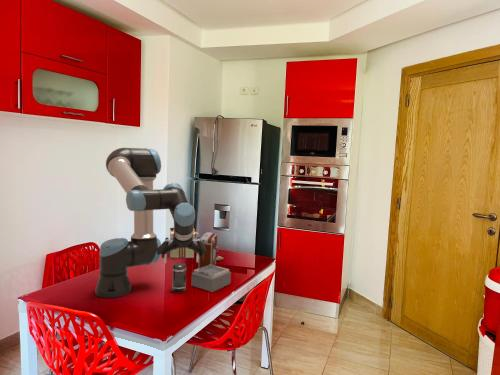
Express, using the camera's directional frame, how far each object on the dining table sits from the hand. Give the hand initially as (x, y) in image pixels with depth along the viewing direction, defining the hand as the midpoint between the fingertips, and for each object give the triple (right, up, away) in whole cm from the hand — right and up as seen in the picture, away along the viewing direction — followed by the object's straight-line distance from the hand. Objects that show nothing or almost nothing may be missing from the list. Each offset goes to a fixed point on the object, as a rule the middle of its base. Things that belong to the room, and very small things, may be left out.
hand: (181, 260), depth 162 cm
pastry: (+8, -12, +61) cm, 63 cm away
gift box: (-11, -10, +67) cm, 69 cm away
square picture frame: (+11, -10, +20) cm, 25 cm away
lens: (-3, -16, +12) cm, 20 cm away
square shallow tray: (+11, -16, +21) cm, 28 cm away
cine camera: (+7, -14, +42) cm, 45 cm away
